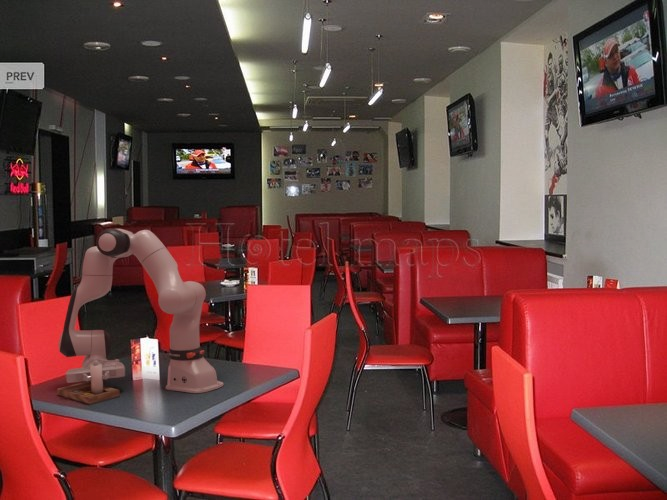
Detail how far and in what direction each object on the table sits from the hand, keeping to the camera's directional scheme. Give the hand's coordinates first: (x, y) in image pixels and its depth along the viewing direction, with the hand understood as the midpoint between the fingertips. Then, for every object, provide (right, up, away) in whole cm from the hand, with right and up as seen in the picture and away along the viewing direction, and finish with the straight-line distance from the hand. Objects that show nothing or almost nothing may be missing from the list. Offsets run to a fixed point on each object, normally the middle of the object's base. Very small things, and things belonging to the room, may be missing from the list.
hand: (96, 378), depth 237 cm
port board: (-5, -7, +5) cm, 10 cm away
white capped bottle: (0, -5, +1) cm, 6 cm away
